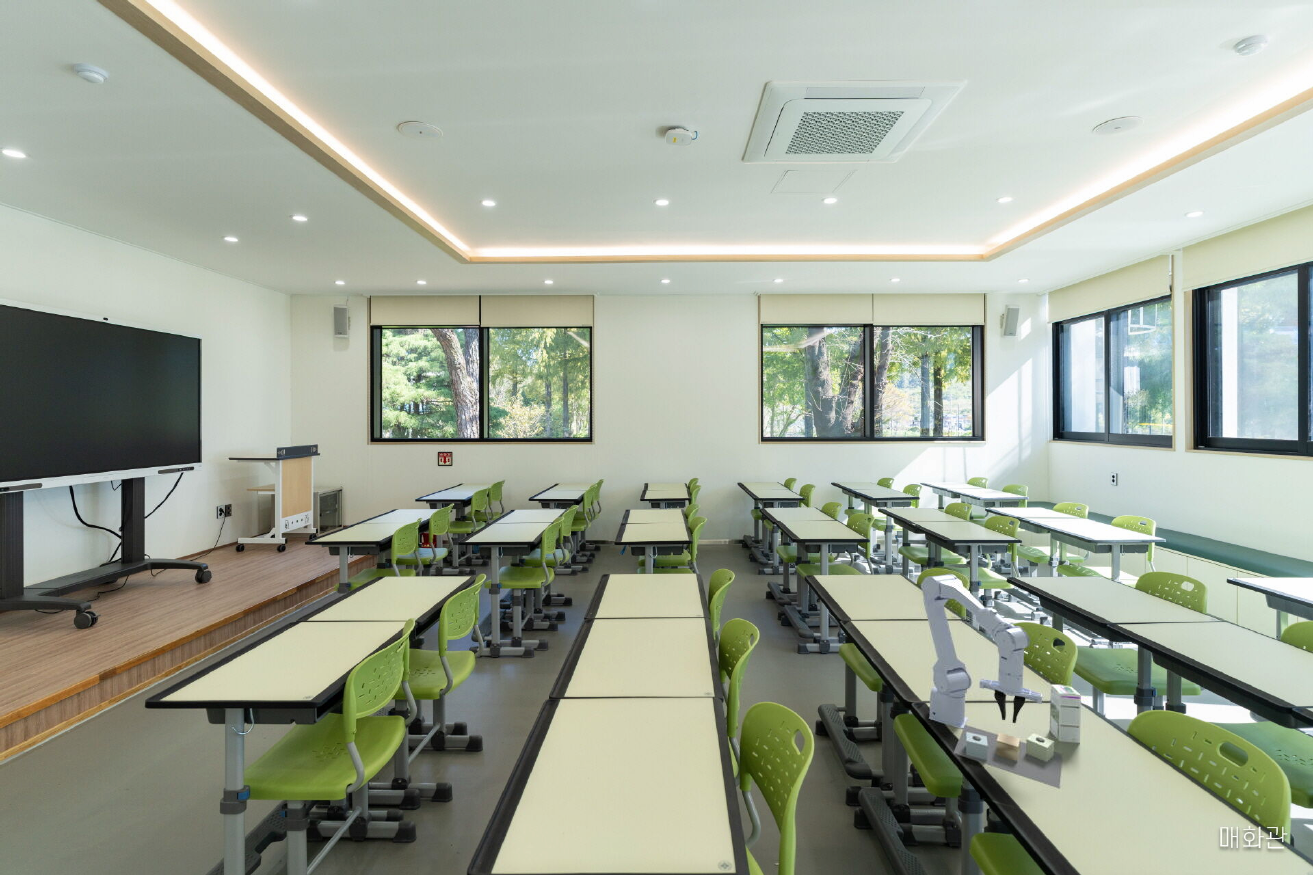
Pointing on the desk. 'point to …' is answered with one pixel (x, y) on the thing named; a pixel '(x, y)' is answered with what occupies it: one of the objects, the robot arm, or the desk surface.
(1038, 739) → the sage dotted block
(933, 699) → the robot arm
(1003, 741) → the beech block
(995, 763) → the rubber mat
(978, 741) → the slate dotted block
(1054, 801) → the desk surface
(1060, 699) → the syrup box
